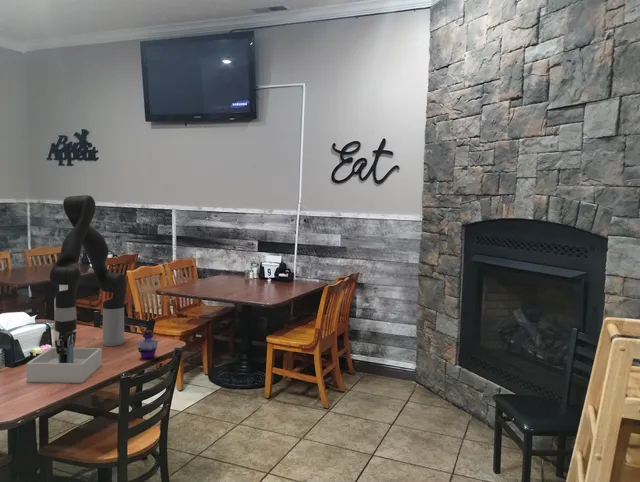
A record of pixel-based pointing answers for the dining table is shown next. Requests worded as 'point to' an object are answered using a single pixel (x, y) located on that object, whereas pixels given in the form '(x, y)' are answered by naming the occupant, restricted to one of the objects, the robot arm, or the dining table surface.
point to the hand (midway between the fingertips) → (66, 361)
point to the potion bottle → (147, 346)
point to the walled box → (64, 366)
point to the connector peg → (69, 354)
